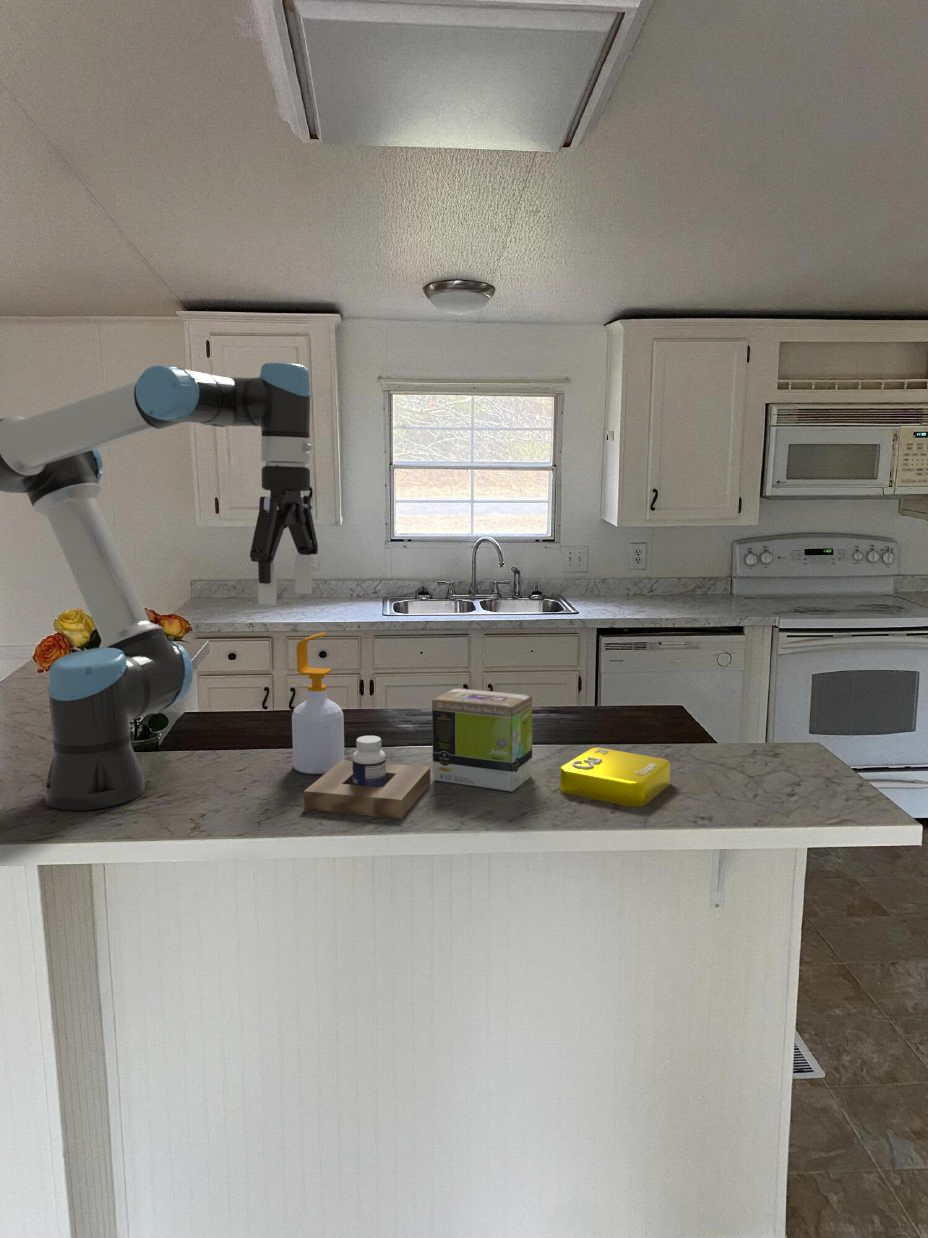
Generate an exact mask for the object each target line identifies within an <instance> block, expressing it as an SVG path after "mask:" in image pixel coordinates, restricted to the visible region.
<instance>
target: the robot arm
mask: <svg viewBox="0 0 928 1238" xmlns="http://www.w3.org/2000/svg"><path fill="white" fill-rule="evenodd" d="M310 383H311V382H310V372H309V370H308V368H307V367H306V366H304V365H302V364H299V363H298V364H297V363H290V362H289V363H288V362H268V363H263V364H262V366H261V368H260V374H259V376H258V377H230V376H224V375H220V374H219V375H218V374H213V373H208V372H204V371H197V370H192V369H187V368H183V367H180V366H174V365H171V364H169V365H158V364H157V365H153V366H150V367H148V368H146V369H145V370H144V371H143V372H142V373H141V375H140V376H139V377H138V378H137V380H136V381H134V382H133V381H132V382H130V383H128V384H125V385H121V386H117V387H115V388H113V389H109V390H107V391H106V390H105V391H103V392H100V393H98V394H94V395H92V396H88V397H85V398H83V399H82V398H81V399H79V400H76V401H73V402H70V403H68V404H64V405H62V406H59V407H55V408H52V409H49V410H46V411H43V412H41V413H37V414H34V415H30V416H27V417H23V416H20V415H9V416H6V417H3V418H0V492H3V493H11V494H12V493H13V494H21V493H23V494H26V495H27V496H28V499H29V501H30V504H31V505H32V508H33V510H34V511H35V512H36V513H40V514H41V515H45V516H46V517H47V519H48V521H49V524H50V526H51V528H52V531H53V533H54V535H55V538H56V540H57V542H58V544H59V547H60V549H61V551H62V553H63V555H64V557H65V560H66V562H67V564H68V566H69V570H70V571H71V574H72V577H73V579H74V580H75V583H76V585H77V587H78V589H79V592H80V594H81V597H82V599H83V601H84V603H85V606H86V608H87V610H88V612H89V615H90V617H91V619H92V622H93V623H94V626H95V628H96V630H97V633H98V636H99V637H100V639H101V642H100V644H99V647H96V648H89V649H87V650H77V651H75V652H74V651H73V652H71V653H68V654H65V655H63V656H61V657H60V658H57V659H56V660H55V661H54V662H53V663H52V664H51V665H50V666H49V667H50V668H49V670H48V685H47V692H48V696H49V697H48V699H49V709H50V720H51V722H50V723H51V731H52V742H53V744H52V745H53V757H52V760H51V763H50V766H49V767H50V768H49V770H48V773H47V778H46V782H45V786H44V798H45V803H46V805H48V806H49V807H51V808H54V809H59V810H61V811H63V810H64V811H90V810H97V809H98V810H99V809H105V808H110V807H114V806H118V805H121V804H124V803H127V802H130V801H132V800H134V799H136V798H138V797H140V796H141V795H142V794H143V793H144V792H145V790H146V787H145V785H146V784H145V783H146V782H145V776H144V775H145V774H144V772H143V771H142V768H141V766H140V764H139V761H138V758H137V756H136V753H135V751H134V748H133V747H132V741H131V724H130V722H131V721H133V720H136V719H139V718H142V717H145V716H148V715H150V714H153V713H156V712H162V711H165V710H166V709H169V708H170V707H171V706H174V705H175V704H178V703H179V702H180V701H182V700H183V699H184V698H185V697H186V696H187V694H188V693H189V690H190V688H191V684H192V683H193V677H194V666H193V662H192V659H191V656H190V655H189V653H188V651H187V650H186V649H185V648H184V647H183V646H182V645H179V644H178V643H177V642H176V641H173V640H168V638H167V636H166V633H165V631H164V628H163V627H162V626H161V625H159V624H156V623H153V622H151V621H150V620H149V617H148V615H147V612H146V609H145V607H144V605H143V603H142V600H141V599H140V598H141V597H139V594H138V592H137V590H136V587H135V585H134V582H133V579H131V576H130V573H129V572H128V569H127V567H126V564H125V563H124V560H123V558H122V556H121V554H120V551H119V548H118V546H117V544H116V542H115V539H114V536H113V535H112V533H111V531H110V528H109V526H108V524H107V522H106V519H105V516H104V515H103V513H102V510H101V508H100V506H99V503H98V501H97V498H98V497H99V494H100V492H101V489H102V488H101V485H100V484H99V482H100V481H101V478H102V475H103V472H102V471H101V470H102V469H103V465H104V464H103V459H102V455H101V452H100V448H102V447H107V446H110V445H113V444H115V443H118V442H122V441H126V440H128V439H132V438H135V437H138V436H142V435H144V434H147V433H151V432H154V431H155V432H156V431H157V430H160V429H166V428H168V427H171V426H175V425H178V424H182V423H197V424H201V425H205V426H212V427H219V428H224V427H260V430H261V431H260V432H261V436H260V437H261V439H260V441H261V443H260V448H261V449H260V451H261V452H260V454H261V455H260V458H261V459H260V461H261V462H262V463H264V465H263V466H262V468H261V488H262V490H264V491H270V495H269V496H260V498H259V503H258V508H259V509H258V515H257V520H256V524H255V529H254V534H253V538H252V543H251V547H250V551H249V557H250V560H251V562H254V563H255V562H256V563H257V601H258V605H269V606H275V605H276V606H277V602H278V601H277V591H278V590H277V562H276V561H275V562H274V560H275V557H276V554H277V550H278V548H279V545H280V542H281V539H282V536H283V533H284V530H285V529H287V528H288V530H289V532H290V535H291V538H292V540H293V544H294V546H295V549H296V550H297V551H296V552H297V553H298V554H294V593H296V594H307V595H308V594H309V595H311V594H312V592H313V591H312V589H313V587H312V586H313V585H312V583H313V581H312V580H313V574H312V572H313V571H312V569H313V566H312V563H313V561H312V560H313V558H312V557H313V555H317V554H318V551H319V550H318V548H319V547H318V541H317V535H316V530H315V525H314V520H313V515H312V510H311V496H310V495H304V494H302V493H301V492H307V491H309V490H310V489H311V469H309V467H307V465H306V464H310V461H311V460H310V459H311V456H310V455H311V454H310V453H311V450H312V449H313V446H312V444H311V439H310V437H311V435H310V434H311V433H310V426H311V425H310V423H311V418H310V417H311V397H312V394H311V384H310Z"/></svg>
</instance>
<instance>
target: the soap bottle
mask: <svg viewBox="0 0 928 1238" xmlns="http://www.w3.org/2000/svg"><path fill="white" fill-rule="evenodd" d="M325 635H328V631H323V632H320V633H317V634H314V635H310V636H307V637H306V638H303V639H302V640H300V641H298V643H296V669H297V672H298V673H299V674H300V675H302V676H303V675H304V676H308V679H309V680H311V685H308V686H307V698H306V700H305V701H302V702H301V703H300V704H299V705H297V707H295V708H294V709H293V711H292V714H291V725H292V727H291V730H292V731H291V733H292V762H293V764H292V766H293V767H294V770H296V771H297V772H298V773H302V774H306V775H307V774H308V775H324V774H325V773H327V772H328V771H329V770H330V769H331V768H333V767H334V766H335V765H336V764H338V763H339V762H340V761H341V760H345V729H344V728H345V727H344V726H345V725H344V724H345V723H344V722H345V720H344V712H343V710H342V708H341V706H339V705H338V704H337V703H336V702H335V701H333V700H330V699H329V698H328V697H327V696H328V693H327V685H326V684H322V683H323V681H322V680H323V679H324V678H325V676H327V675H328V674H330V673H331V672H332V668H327V667H326V668H323V667H311V666H310V665H309V663H308V660H309V659H308V643H309V641H311V640H315V639H318V638H321V637H324V636H325Z"/></svg>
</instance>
